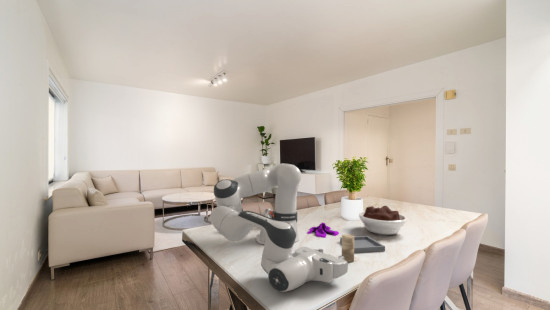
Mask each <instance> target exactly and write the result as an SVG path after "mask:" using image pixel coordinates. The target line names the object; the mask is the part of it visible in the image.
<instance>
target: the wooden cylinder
mask: <svg viewBox="0 0 550 310" xmlns="http://www.w3.org/2000/svg"><path fill="white" fill-rule="evenodd" d="M341 237H342V243H341V256H344V260H345V261H347V263H348V264H349V263H350V264H351V263H354V262H355V253H354V237H355V236H354V235H352V234H349V233H348V234H346V233H345V234H342V235H341Z"/></svg>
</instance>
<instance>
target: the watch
mask: <svg viewBox="0 0 550 310" xmlns="http://www.w3.org/2000/svg"><path fill="white" fill-rule="evenodd" d="M270 211H273V212H274V211H275V209H272V208H266V209H265V210H264V212H263V215H264V216H266V217H269V218H271V215H270V214H269V213H270Z"/></svg>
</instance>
